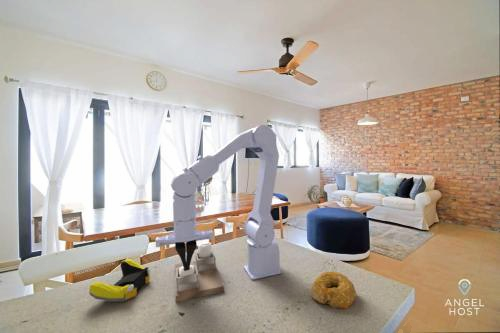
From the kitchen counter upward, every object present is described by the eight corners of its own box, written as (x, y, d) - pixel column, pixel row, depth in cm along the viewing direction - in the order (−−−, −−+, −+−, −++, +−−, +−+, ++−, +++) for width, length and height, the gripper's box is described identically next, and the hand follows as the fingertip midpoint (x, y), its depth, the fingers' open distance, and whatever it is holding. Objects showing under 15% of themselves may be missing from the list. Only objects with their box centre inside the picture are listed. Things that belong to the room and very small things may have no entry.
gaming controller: (85, 308, 52) (125, 310, 51) (83, 286, 52) (123, 287, 51) (125, 274, 67) (157, 275, 66) (124, 257, 67) (156, 257, 66)
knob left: (194, 277, 61) (193, 263, 61) (195, 285, 57) (195, 270, 57) (179, 280, 60) (178, 266, 60) (179, 289, 56) (179, 273, 56)
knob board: (212, 262, 73) (212, 247, 73) (223, 291, 57) (223, 272, 57) (175, 269, 69) (174, 253, 69) (175, 302, 53) (175, 282, 53)
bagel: (302, 287, 58) (303, 270, 58) (339, 283, 61) (340, 266, 60) (322, 314, 49) (322, 293, 48) (365, 307, 51) (366, 287, 51)
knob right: (210, 253, 71) (210, 241, 70) (212, 258, 67) (212, 245, 67) (197, 255, 69) (197, 243, 69) (199, 261, 65) (199, 247, 65)
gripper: (209, 212, 64) (211, 257, 65) (156, 217, 59) (158, 266, 60) (214, 218, 57) (215, 269, 58) (154, 225, 53) (156, 280, 53)
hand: (186, 268), depth 58 cm, fingers closed, pressing on knob left
